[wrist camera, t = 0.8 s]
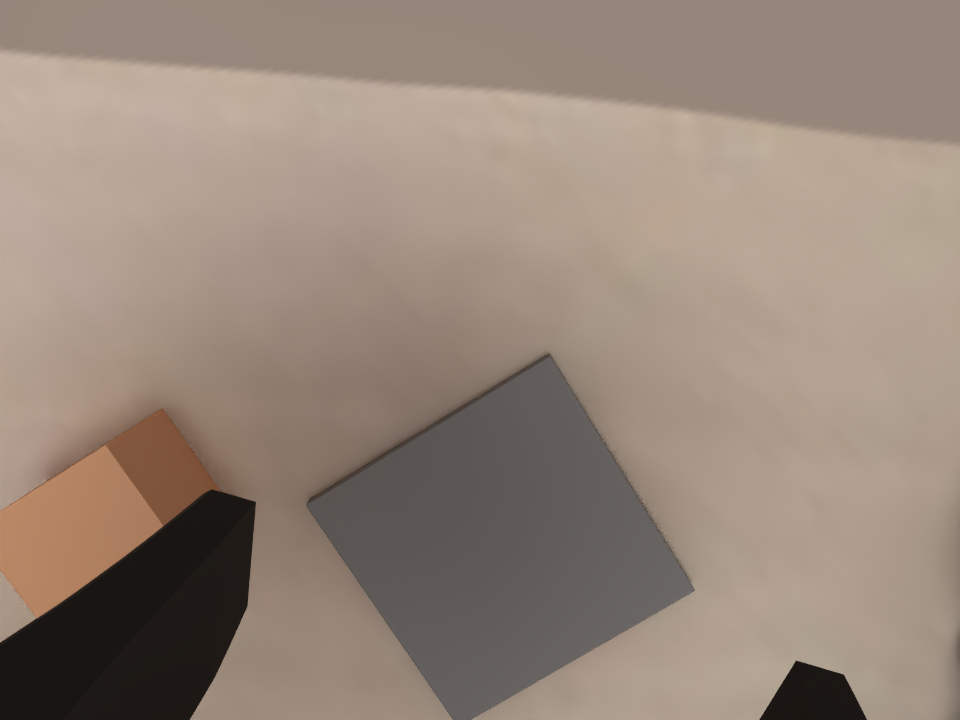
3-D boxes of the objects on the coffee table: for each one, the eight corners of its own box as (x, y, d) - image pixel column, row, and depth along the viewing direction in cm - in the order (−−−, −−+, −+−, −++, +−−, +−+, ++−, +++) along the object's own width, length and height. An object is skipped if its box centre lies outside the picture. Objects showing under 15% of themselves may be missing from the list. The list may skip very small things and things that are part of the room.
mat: (458, 717, 33) (458, 726, 33) (309, 499, 32) (305, 505, 31) (691, 583, 33) (695, 590, 32) (549, 353, 31) (550, 356, 31)
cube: (130, 592, 33) (69, 661, 28) (48, 480, 32) (-30, 530, 27) (243, 523, 32) (202, 580, 27) (163, 407, 31) (105, 445, 27)
